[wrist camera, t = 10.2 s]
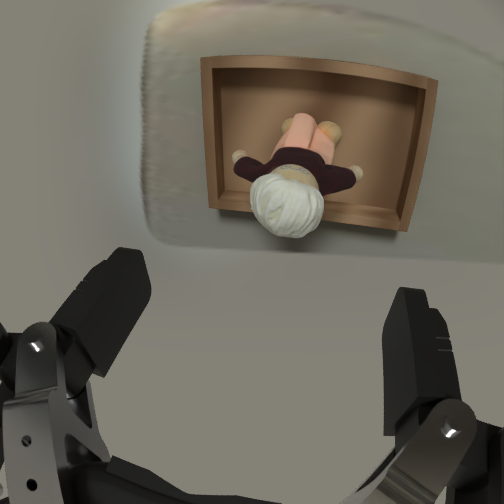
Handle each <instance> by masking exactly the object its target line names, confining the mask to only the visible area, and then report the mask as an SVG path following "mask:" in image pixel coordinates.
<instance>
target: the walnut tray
mask: <svg viewBox="0 0 504 504" xmlns="http://www.w3.org/2000/svg"><path fill="white" fill-rule="evenodd" d="M200 61H201V87H202V108H203V127H204V144H205V159H206V174H207V188H208V201H209V208H214V209H225V210H235V211H245V212H253V211H252V209H251V208H252V207H251V203H250V188H251V186H252V184H253V183H252V182H250V181H248V180H246V179H244V178H241V177H239V176H237V175H236V174H235V173H234V170H233V168H234V163H233V161H232V155H233V153H234V152H235V151H237V150H244V151H245V152H247V154H248V155H249V157H251V158H253V159H256V160H258V161H260V162H261V163H262V164H266V163H267V162H269V161H270V157H271V155H272V153H273V151H274V149H275V147H276V145H277V144H278V142H279V140H280V139H281V137H282V132H281V126H282V124H283V122H284V121H285V120H287V119H289V118H293V117H294V116H295V114H297V113H306V114H308V115H310V116H311V117H313V118H314V120H315V122H316V124H317V126H318V125H319V124H320V123H321V122H324V121H330V122H333V123H335V124H337V125H338V126H339V127H340V128H341V131H342V137H341V140H340V141H339V143H338V144H337V146H336V148H335V149H334V157H333V162H332V164H331V165H335V166H340V167H345V168H348V167H350V166H353V165H356V166H359V167H360V168H361V169H362V171H363V178H362V179H361V180H360V181H359V182H357V183H356V184H355V185H354V186H353V187H352V188H350V189H347V190H343V191H340V192H336V193H332V194H328V195H325V196H322V197H323V200H324V212H323V214H322V218H321V220H324V221H332V222H340V223H347V224H355V225H362V226H369V227H377V228H384V229H391V230H397V231H404V232H407V230H408V227H409V223H410V220H411V216H412V212H413V209H414V205H415V201H416V197H417V193H418V189H419V185H420V181H421V177H422V172H423V168H424V163H425V158H426V154H427V149H428V144H429V138H430V133H431V127H432V121H433V115H434V109H435V102H436V95H437V87H438V81H437V80H435V79H432V78H429V77H425V76H421V75H417V74H413V73H408V72H404V71H399V70H394V69H389V68H384V67H378V66H372V65H366V64H360V63H353V62H345V61H337V60H328V59H318V58H306V57H291V56H265V55H233V56H210V57H203V58H200Z"/></svg>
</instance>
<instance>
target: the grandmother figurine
mask: <svg viewBox="0 0 504 504" xmlns="http://www.w3.org/2000/svg"><path fill="white" fill-rule="evenodd" d="M281 132H282V137H281V139H280V140H279V142H278V144H277V145H276V147H275V149H274V151H273V153H272V155H271V157H270V161H269V162H267V163H266V164H262V163H261V162H260V161H258V160H256V159H253V158H251V157H249V155H248V154H247V152H245V151H244V150H237V151H235V152H234V153H233V155H232V161H233V163H234V168H233V170H234V173H235V174H236V175H237V176H239V177H241V178H244V179H246V180H248V181H250V182H252V183H253V184H252V186H251V188H250V203H251V207H252V208H251V209H252V211H253V212H254V215H255V217H256V218H257V220H258V221H259V222H260V223H261V224H262V225H263V226H264V227H265V228H266V229H268V231H270V232H271V233H273V234H274V235H277V236H281V237H292V238H301V237H304V236H305V235H306V234H307V233H309V232H311V231H313V230H315V229H316V228H317V226H318V225H319V223H320V221H321V218H322V214H323V212H324V200H323V197H322V196H325V195H328V194H332V193H336V192H340V191H343V190H347V189H350V188H352V187H353V186H354V185H355V184H356V183H357V182H359V181H360V180H361V179H362V178H363V171H362V169H361V168H360V167H359V166H356V165H353V166H350V167H348V168H345V167H340V166H335V165H331V164H332V162H333V157H334V149H335V148H336V146H337V144H338V143H339V141H340V140H341V137H342V131H341V128H340V127H339V126H338V125H337V124H335V123H333V122H330V121H324V122H321V123H320V124H319V125H318V126H317V124H316V122H315V120H314V118H313V117H311V116H310V115H308V114H306V113H297V114H295V116H294V117H293V118H289V119H287V120H285V121H284V122H283V124H282V126H281Z"/></svg>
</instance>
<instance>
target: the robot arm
mask: <svg viewBox="0 0 504 504" xmlns="http://www.w3.org/2000/svg"><path fill="white" fill-rule="evenodd" d="M150 296H151V283H150V280H149V276H148V273H147V268H146V264H145V261H144V256H143V253H142V252H141V251H140V250H136V249H130V248H123V247H119V248H117V249H116V250H115V251H114V252H113V253H112V254H111V255H110V257H109V258H108V259H107V260H104V261H102V262H101V263H99V264H98V265H96V266H95V267H93V268H92V269H91V270H90V271H89V272H88V274H87V275H86V276H85V277H84V279H83V281H81V282H80V283H79V284H78V286H77V287H76V290H74V291H73V292H72V293H71V295H70V296H69V297H68V298H67V299H66V301H65V302H64V303H63V304H62V306H61V307H60V308H59V310H58V311H57V312H56V314H55V315H54V316H53V318H52V319H51V320H50V321H49V322H48V323H47V322H38V323H35V324H32V325H31V326H29V327H28V328H27V329H25V331H24V332H23V333H7V332H6V330H5V328H4V327H3V326H2V324H1V323H0V380H1V381H2V383H1V384H0V469H1V467H2V465H3V462H4V461H5V472H6V480H7V488H8V495H9V497H6V498H4V499H1V500H0V504H281V503H274V502H269V501H263V500H257V499H252V498H247V497H241V496H237V495H235V496H234V495H233V496H232V495H231V496H229V495H226V496H225V495H220V496H219V495H195V494H188V493H185V492H183V491H181V490H180V489H178V488H176V487H175V486H173V485H171V484H170V483H168V482H167V481H165V480H163V479H162V478H160V477H159V476H157V475H156V474H154V473H153V472H151V471H150V470H148V469H145V468H142V467H140V466H137V465H135V464H132V463H130V462H127V461H125V460H122V459H120V458H118V457H115V456H112V458H110V455H109V452H108V449H107V447H106V445H105V443H104V441H103V440H102V438H101V436H100V433H99V430H98V425H97V420H96V414H95V409H94V403H93V397H92V390H91V385H90V381H89V380H88V379H89V378H90V376H91V374H92V373H93V374H96V375H98V376H101V377H103V378H104V377H105V376H106V374H107V372H108V370H109V369H110V367H111V365H112V363H113V362H114V360H115V358H116V356H117V355H118V353H119V351H120V349H121V348H122V346H123V344H124V342H125V341H126V339H127V337H128V336H129V334H130V332H131V331H132V329H133V327H134V325H135V324H136V322H137V320H138V319H139V317H140V316H141V314H142V312H143V311H144V309H145V307H146V306H147V304H148V302H149V300H150ZM449 337H450V336H449V332H448V328H447V324H446V321H445V320H444V318H443V317H442V315H441V314H440V312H439V311H438V310H437V309H435V308H429V305H428V301H427V297H426V293H425V291H424V290H423V289H414V288H406V287H400V288H399V289H398V291H397V293H396V296H395V299H394V301H393V303H392V306H391V308H390V311H389V313H388V316H387V318H386V320H385V323H384V327H383V333H382V350H383V376H384V436H395V446H394V447H393V448H392V450H391V451H390V452H389V453H388V455H387V456H386V457H385V458H384V459H383V460H382V461H381V463H380V464H379V465H378V466H377V467H376V468H375V469H374V471H373V472H372V473H371V474H370V475H369V476H368V477H367V478H366V479H365V480H364V481H363V482H362V483H361V484H360V485H359V487H358V488H357V489H356V490H355V491H354V492H353V493H352V494H350V495H349V496H348V497H347V498H346V499H345V500H343V501H342V502H341V503H340V504H434V503H435V501H436V499H437V498H438V496H439V495H440V493H441V492H442V490H443V489H444V487H445V486H447V490H446V502H445V504H504V427H503V428H501V427H497V426H494V425H491V424H487V423H485V422H482V421H479V420H477V419H476V416H475V414H474V412H473V410H472V409H471V408H470V406H469V405H467V404H466V403H464V402H463V401H462V399H461V394H460V388H459V381H458V375H457V370H456V365H455V360H454V355H453V352H452V345H451V341H450V340H449ZM2 493H3V487H2V485H1V484H0V496H1V495H2Z"/></svg>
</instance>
